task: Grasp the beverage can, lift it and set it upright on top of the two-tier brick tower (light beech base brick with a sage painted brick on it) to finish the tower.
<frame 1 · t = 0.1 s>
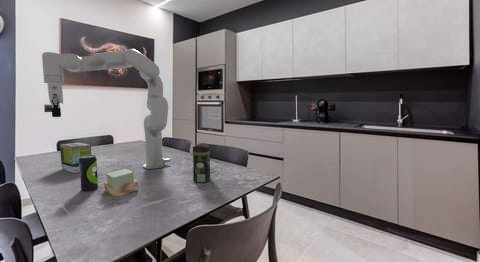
hand: (56, 116, 112), 31 cm above the table, tool pointing down, fingers open, 9 cm apart
beverage can: (89, 190, 102), on the table
sage brick: (120, 181, 100), point 4 cm above the table, touching beech base brick
beech base brick: (122, 190, 101), on the table, touching sage brick
coffee jar: (201, 180, 117), on the table
tea box: (77, 170, 134), on the table
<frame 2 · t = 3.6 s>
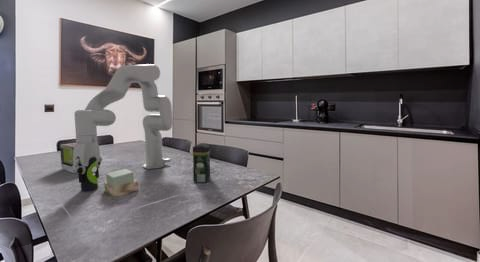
hand: (89, 179, 102), 5 cm above the table, tool pointing down, fingers closed on beverage can, 6 cm apart
beverage can: (89, 190, 102), on the table, touching gripper
everything else where it was.
when the fingers open (13 cm above the table, at t = 8.2 s): beverage can stays where it is, resting on sage brick.
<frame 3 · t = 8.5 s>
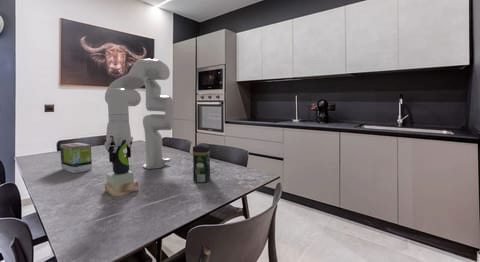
hand: (120, 159, 99), 14 cm above the table, tool pointing down, fingers open, 8 cm apart
beverage can: (121, 172, 100), point 8 cm above the table, touching sage brick
sage brick: (120, 181, 100), point 4 cm above the table, touching beech base brick, beverage can
everything else where it was.
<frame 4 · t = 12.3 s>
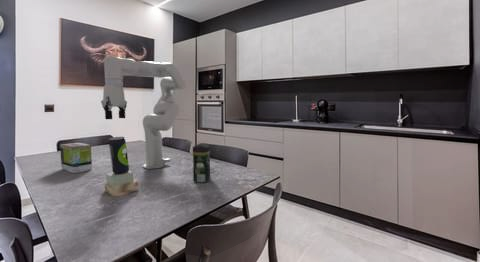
hand: (115, 118, 115), 30 cm above the table, tool pointing down, fingers open, 9 cm apart
nothing on the table moved.
at the end: beverage can inside the target area on the beech base brick (0.3 cm from its centre), point 7.8 cm above the beech base brick's base; beverage can tilted 5°; the gripper is holding nothing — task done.
